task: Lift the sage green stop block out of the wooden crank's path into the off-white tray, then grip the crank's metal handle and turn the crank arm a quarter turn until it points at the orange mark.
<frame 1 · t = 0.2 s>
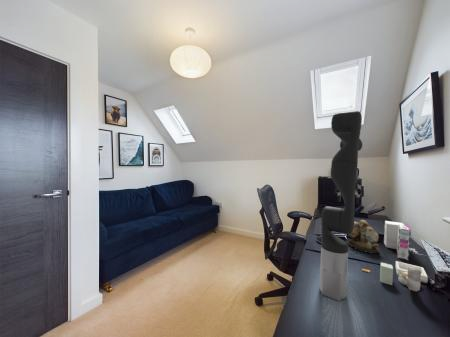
hand: (348, 203, 112), 29 cm above the table, tool pointing down, fingers open, 8 cm apart
supplement box: (393, 247, 125), on the table
owl figurine: (361, 248, 122), on the table
stop block: (385, 281, 86), on the table
candy bar box: (402, 256, 112), on the table
crank base: (408, 283, 85), on the table
tray: (410, 274, 92), on the table
crank arm: (411, 273, 81), point 7 cm above the table, hinge at 90.0°
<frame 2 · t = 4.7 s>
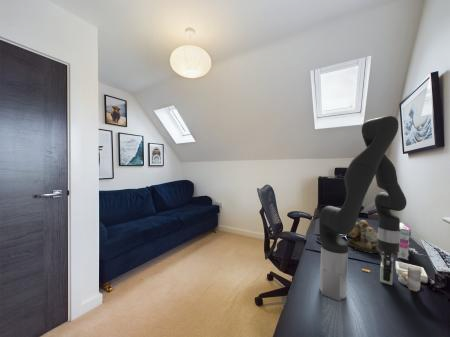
hand: (386, 277, 86), 1 cm above the table, tool pointing down, fingers closed on stop block, 4 cm apart
stop block: (385, 281, 86), on the table, touching gripper
everything else where it was.
when the fingers open (4 cm above the table, at t = 10.3 s): stop block drops 1 cm, resting on tray.
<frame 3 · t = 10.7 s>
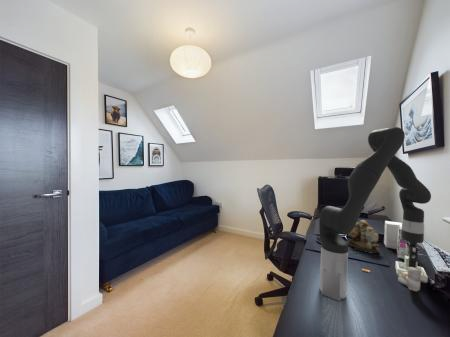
hand: (410, 265, 92), 4 cm above the table, tool pointing down, fingers open, 7 cm apart
stop block: (410, 273, 92), point 1 cm above the table, touching tray
everything else where it was.
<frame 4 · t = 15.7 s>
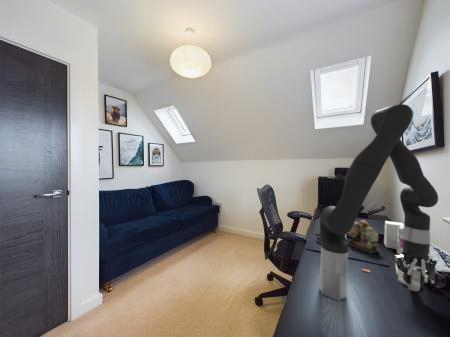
hand: (413, 283, 76), 5 cm above the table, tool pointing down, fingers closed on crank arm, 3 cm apart
crank arm: (411, 273, 81), point 6 cm above the table, hinge at 90.0°, touching gripper
everything else where it was.
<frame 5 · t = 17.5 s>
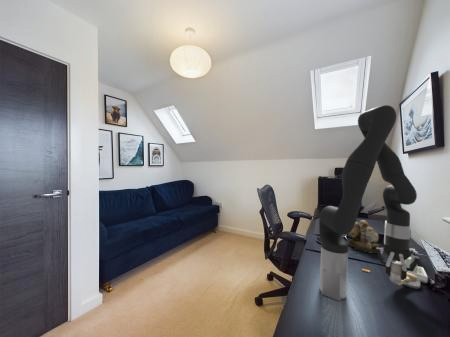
hand: (395, 276, 81), 5 cm above the table, tool pointing down, fingers closed on crank arm, 3 cm apart
crank arm: (403, 270, 83), point 7 cm above the table, hinge at 62.1°, touching gripper
everything else where it was.
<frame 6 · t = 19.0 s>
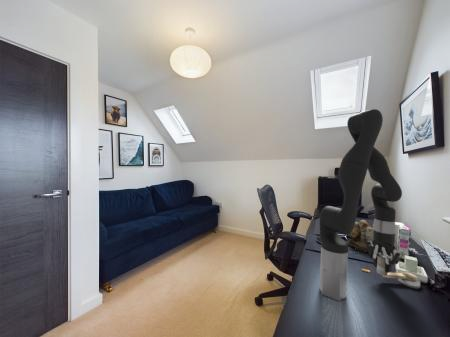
hand: (381, 269, 86), 5 cm above the table, tool pointing down, fingers closed on crank arm, 3 cm apart
crank arm: (396, 267, 86), point 7 cm above the table, hinge at 31.6°, touching gripper
everything else where it was.
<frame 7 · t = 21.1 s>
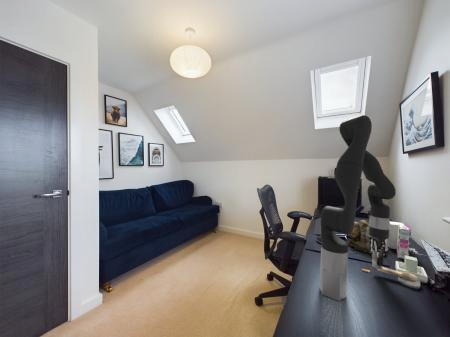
hand: (376, 263, 92), 5 cm above the table, tool pointing down, fingers closed on crank arm, 3 cm apart
crank arm: (393, 264, 88), point 7 cm above the table, hinge at 0.0°, touching gripper
everything else where it was.
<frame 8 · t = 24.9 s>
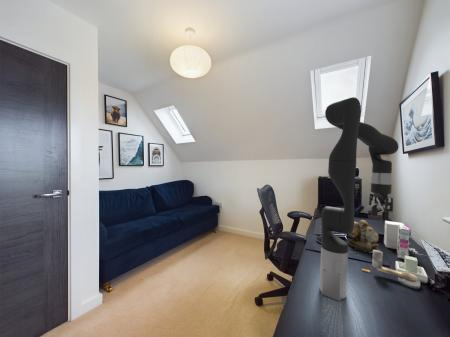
hand: (379, 217, 92), 26 cm above the table, tool pointing down, fingers open, 8 cm apart
crank arm: (393, 264, 88), point 6 cm above the table, hinge at -0.1°
everything else where it was.
at the end: stop block 0.1 cm off-centre on the tray, point 0.8 cm above the tray's base; stop block tilted 0°; crank arm at +0° (first picture: +90°) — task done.
